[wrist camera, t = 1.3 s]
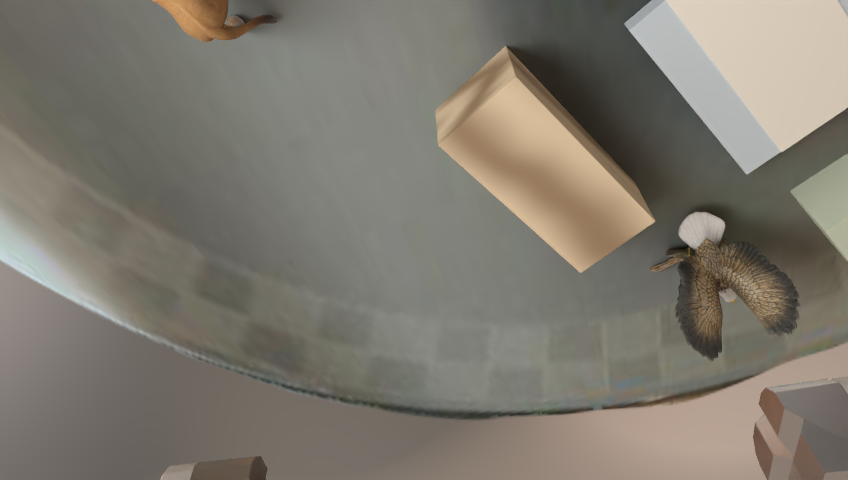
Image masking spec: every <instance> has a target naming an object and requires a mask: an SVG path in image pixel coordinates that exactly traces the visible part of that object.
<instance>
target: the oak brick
mask: <svg viewBox="0 0 848 480" xmlns="http://www.w3.org/2000/svg"><path fill="white" fill-rule="evenodd" d="M435 111H436V123H437V135H438V145H439V146H440V147H441V148H442V149H443V150H444V151H445V152H446V153H448V154H449V155H450V156H451V157H452V158H453V159H454V160H455V161H456V162H458V163H459V164H460V165H461V166H462V167H463V168H464V169H465V170H467V171H468V172H469V173H470V174H471V175H472V176H473V177H474V178H475V179H477V180H478V181H479V182H480V183H481V184H482V185H483V186H484V187H485V188H487V189H488V190H489V191H490V192H491V193H492V194H493V195H494V196H495V197H497V198H498V199H499V200H500V201H501V202H502V203H503V204H504V205H506V206H507V207H508V208H509V209H510V210H511V211H512V212H513V213H514V214H516V215H517V216H518V217H519V218H520V219H521V220H522V221H523V222H524V223H526V224H527V225H528V226H529V227H530V228H531V229H532V230H533V231H534V232H536V233H537V234H538V235H539V236H540V237H541V238H542V239H543V240H545V241H546V242H547V243H548V244H549V245H550V246H551V247H552V248H553V249H555V250H556V251H557V252H558V253H559V254H560V255H561V256H562V257H563V258H565V259H566V260H567V261H568V262H569V263H570V264H571V265H572V266H573V267H575V268H576V269H577V270H578V271H579V272H580V273H581V272H583V271H584V270H586V269H587V268H589V267H590V266H592V265H593V264H594V263H596V262H597V261H599V260H600V259H602V258H603V257H605V256H606V255H607V254H609V253H610V252H612V251H613V250H615V249H616V248H618V247H619V246H621V245H622V244H623V243H625V242H626V241H628V240H629V239H631V238H632V237H634V236H635V235H636V234H638V233H639V232H641V231H642V230H644V229H645V228H647V227H648V226H650V225H651V224H652V223H654V222H655V220H654V218H653V216H652V214H651V212H650V210H649V208H648V206H647V204H646V203H645V201H644V199H643V197H642V195H641V193H640V191H639V189H638V187H637V186H636V184H635V182H634V181H633V180H632V179H631V178H630V177H629V176H628V175H627V174H626V173H625V172H624V171H623V170H622V169H621V167H620V166H619V165H618V164H617V163H616V162H615V161H614V160H613V159H612V158H611V157H610V156H609V155H608V154H607V153H606V152H605V151H604V149H603V148H602V147H601V146H600V145H599V144H598V143H597V142H596V141H595V140H594V139H593V138H592V137H591V136H590V135H589V134H588V133H587V131H586V130H585V129H584V128H583V127H582V126H581V125H580V124H579V123H578V122H577V121H576V120H575V119H574V118H573V117H572V116H571V115H570V114H569V112H568V111H567V110H566V109H565V108H564V107H563V106H562V105H561V104H560V103H559V102H558V101H557V100H556V99H555V98H554V97H553V96H552V94H551V93H550V92H549V91H548V90H547V89H546V88H545V87H544V86H543V85H542V84H541V83H540V82H539V81H538V80H537V79H536V78H535V76H534V75H533V74H532V73H531V72H530V71H529V70H528V69H527V68H526V67H525V66H524V65H523V64H522V63H521V62H520V61H519V60H518V58H517V57H516V56H515V55H514V54H513V53H512V52H511V51H510V50H509V49H508V48H507V47H506V46H505V47H504V48H503V49H502V50H501V51H500V52H498V53H497V54H496V55H495V56H494V57H493V58H492V59H491V60H490V61H489V62H488V63H486V64H485V65H484V66H483V67H482V68H481V69H480V70H479V71H478V72H477V73H475V74H474V75H473V76H472V77H471V78H470V79H469V80H468V81H467V82H466V83H465V84H463V85H462V86H461V87H460V88H459V89H458V90H457V91H456V92H455V93H454V94H453V95H451V96H450V97H449V98H448V99H447V100H446V101H445V102H444V103H443V104H442V105H440V106H439V107H438V108H437V109H436V110H435Z"/></svg>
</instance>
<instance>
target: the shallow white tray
mask: <svg viewBox="0 0 848 480" xmlns="http://www.w3.org/2000/svg"><path fill="white" fill-rule="evenodd" d="M624 25H625V26H626V27H627V28H628V30H629V31H630V32H631V33H632V35H633V36H634V37H635V38H636V39H637V41H638V42H639V43H640V44H641V46H642V47H643V48H644V49H645V50H646V52H647V53H648V54H649V55H650V57H651V58H652V59H653V60H654V61H655V63H656V64H657V65H658V66H659V68H660V69H661V70H662V71H663V73H664V74H665V75H666V76H667V77H668V79H669V80H670V81H671V82H672V84H673V85H674V86H675V87H676V88H677V90H678V91H679V92H680V93H681V95H682V96H683V97H684V98H685V100H686V101H687V102H688V103H689V104H690V106H691V107H692V108H693V109H694V111H695V112H696V113H697V114H698V115H699V117H700V118H701V119H702V120H703V122H704V123H705V124H706V125H707V127H708V128H709V129H710V130H711V131H712V133H713V134H714V135H715V136H716V138H717V139H718V140H719V141H720V142H721V144H722V145H723V146H724V147H725V149H726V150H727V151H728V152H729V154H730V155H731V156H732V157H733V158H734V160H735V161H736V162H737V163H738V165H739V166H740V167H741V168H742V169H743V171H744V172H745V173H746V174H749V173H750V172H752V171H753V170H755V169H756V168H758V167H759V166H761V165H762V164H763V163H765V162H766V161H768V160H769V159H771V158H772V157H774V156H775V155H777V154H778V153H780V152H783V151H784V150H786V149H787V148H789V147H790V146H792V145H793V144H795V143H796V142H798V141H799V140H801V139H802V138H804V137H805V136H807V135H808V134H809V133H811V132H812V131H814V130H815V129H817V128H818V127H820V126H821V125H823V124H824V123H826V122H827V121H829V120H830V119H832V118H833V117H835V116H836V115H838V114H839V113H840V112H842V111H843V110H845V109H846V108H848V0H651V1H650V2H649V3H648V4H646V5H645V6H644V7H643V8H642V9H641V10H639V11H638V12H637V13H636V14H635V15H634V16H632V17H631V18H630V19H629V20H628V21H627V22H625V23H624Z"/></svg>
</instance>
